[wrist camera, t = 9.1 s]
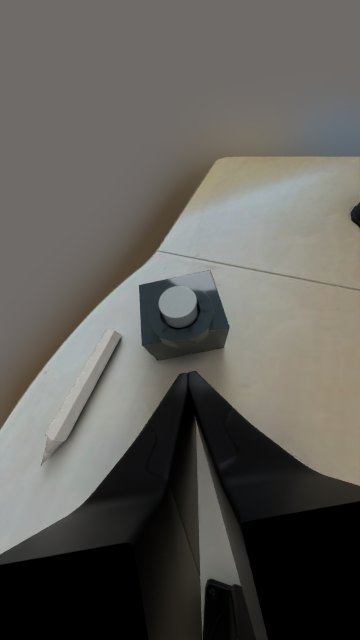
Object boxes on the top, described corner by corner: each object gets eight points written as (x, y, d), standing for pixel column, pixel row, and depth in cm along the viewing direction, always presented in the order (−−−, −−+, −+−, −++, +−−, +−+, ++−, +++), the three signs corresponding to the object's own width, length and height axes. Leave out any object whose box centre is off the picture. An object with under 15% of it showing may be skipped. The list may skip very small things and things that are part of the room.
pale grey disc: (201, 324, 16) (200, 313, 14) (165, 331, 16) (160, 321, 14) (193, 295, 17) (192, 282, 16) (161, 302, 18) (156, 289, 16)
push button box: (226, 356, 22) (236, 330, 15) (157, 369, 22) (135, 350, 15) (209, 298, 26) (210, 258, 19) (152, 310, 26) (133, 274, 19)
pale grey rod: (52, 461, 19) (117, 336, 26) (57, 471, 18) (125, 336, 24) (25, 461, 18) (102, 327, 24) (28, 473, 16) (109, 327, 23)
